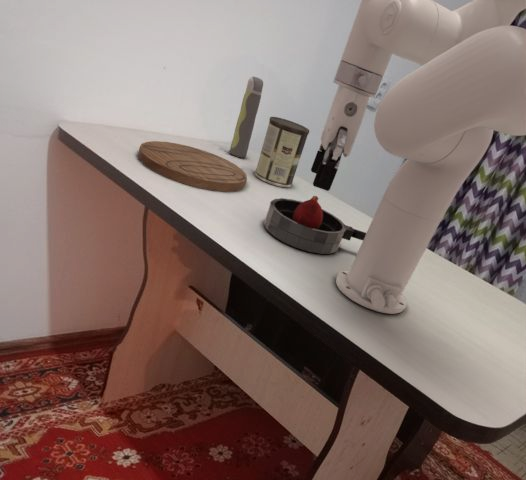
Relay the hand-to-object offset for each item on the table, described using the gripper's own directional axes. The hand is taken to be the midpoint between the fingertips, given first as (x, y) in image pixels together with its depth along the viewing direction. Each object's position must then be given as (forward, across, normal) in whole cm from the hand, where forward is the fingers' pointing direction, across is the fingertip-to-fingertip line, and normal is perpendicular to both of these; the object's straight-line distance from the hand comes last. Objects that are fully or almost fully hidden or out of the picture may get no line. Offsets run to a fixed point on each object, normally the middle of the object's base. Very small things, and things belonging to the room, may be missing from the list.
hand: (319, 180), depth 86 cm
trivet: (+12, +21, +26) cm, 35 cm away
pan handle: (+8, -1, -14) cm, 16 cm away
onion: (+11, -1, 0) cm, 11 cm away
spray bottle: (+12, +49, +18) cm, 54 cm away
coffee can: (+12, +35, +7) cm, 38 cm away
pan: (+11, -1, 0) cm, 11 cm away
